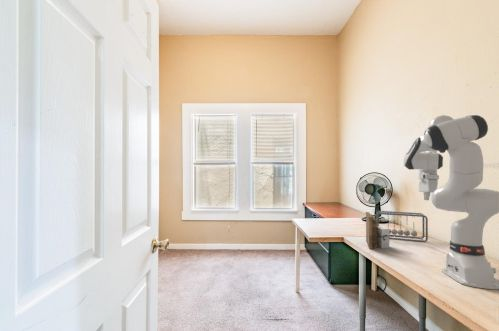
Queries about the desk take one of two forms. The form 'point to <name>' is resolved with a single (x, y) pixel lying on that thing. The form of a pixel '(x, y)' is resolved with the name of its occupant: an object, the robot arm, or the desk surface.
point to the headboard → (371, 231)
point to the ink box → (383, 236)
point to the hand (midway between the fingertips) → (426, 200)
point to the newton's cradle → (406, 222)
